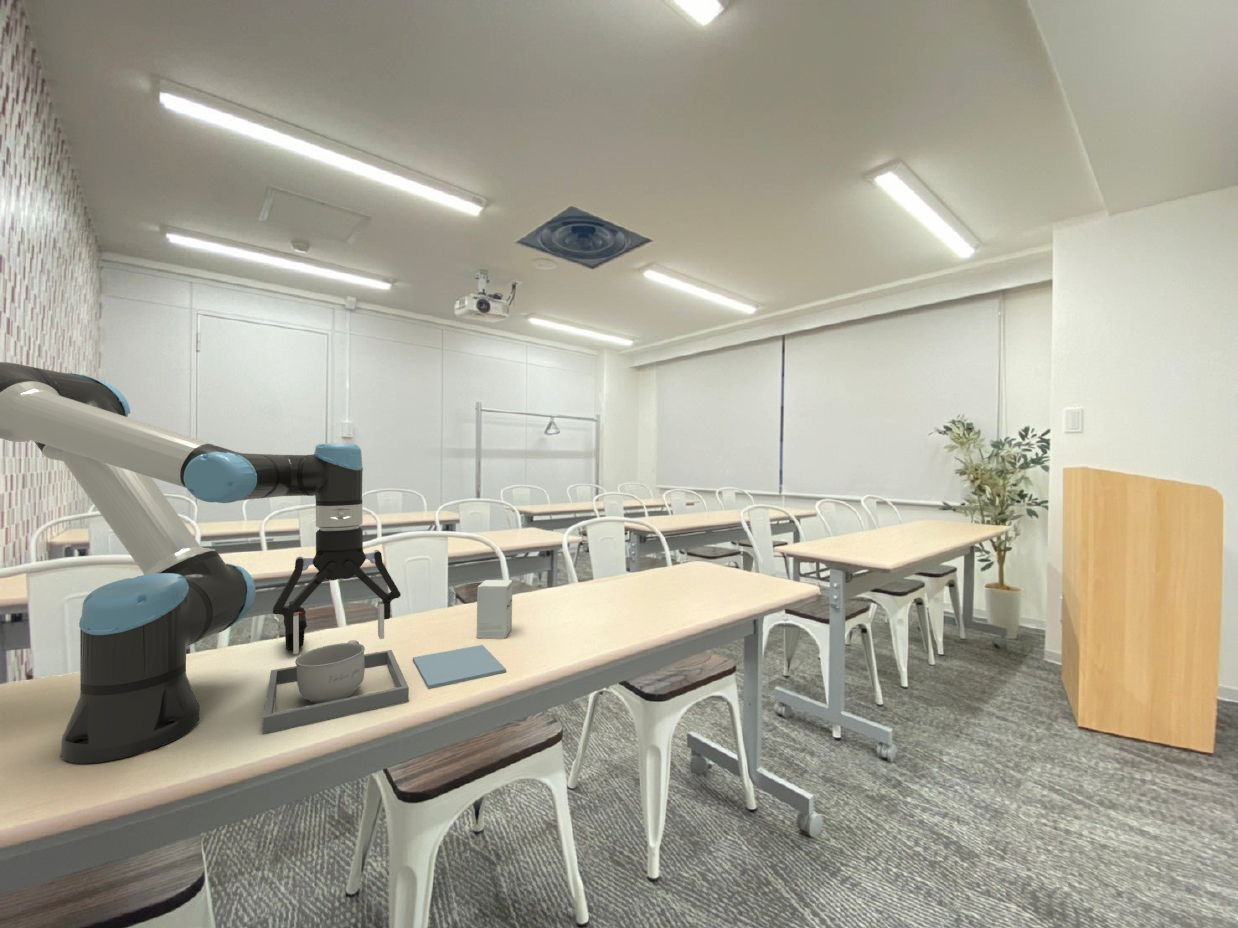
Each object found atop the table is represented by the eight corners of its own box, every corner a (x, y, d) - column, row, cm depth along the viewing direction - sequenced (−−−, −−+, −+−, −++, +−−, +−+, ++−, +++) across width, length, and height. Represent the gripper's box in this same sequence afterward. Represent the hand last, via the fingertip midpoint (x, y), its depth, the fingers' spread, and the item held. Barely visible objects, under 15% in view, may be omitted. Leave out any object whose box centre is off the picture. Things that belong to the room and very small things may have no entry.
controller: (303, 639, 119) (304, 597, 119) (307, 655, 109) (308, 609, 109) (282, 643, 116) (282, 600, 116) (284, 660, 106) (284, 613, 106)
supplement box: (506, 638, 121) (507, 586, 121) (475, 638, 121) (476, 586, 121) (512, 628, 128) (513, 579, 129) (483, 628, 128) (484, 579, 128)
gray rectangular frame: (262, 734, 77) (263, 717, 77) (270, 683, 95) (270, 670, 95) (408, 701, 88) (408, 687, 88) (391, 661, 106) (391, 649, 106)
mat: (428, 688, 94) (428, 685, 94) (412, 660, 107) (412, 657, 107) (506, 672, 101) (506, 669, 101) (482, 647, 115) (482, 644, 115)
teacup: (334, 714, 84) (334, 666, 84) (279, 707, 86) (279, 660, 86) (388, 679, 98) (388, 638, 98) (339, 674, 100) (340, 634, 100)
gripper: (253, 535, 82) (254, 665, 82) (415, 525, 95) (416, 636, 95) (257, 530, 88) (258, 651, 88) (408, 521, 102) (409, 626, 102)
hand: (340, 644), depth 92 cm, fingers open, 13 cm apart
